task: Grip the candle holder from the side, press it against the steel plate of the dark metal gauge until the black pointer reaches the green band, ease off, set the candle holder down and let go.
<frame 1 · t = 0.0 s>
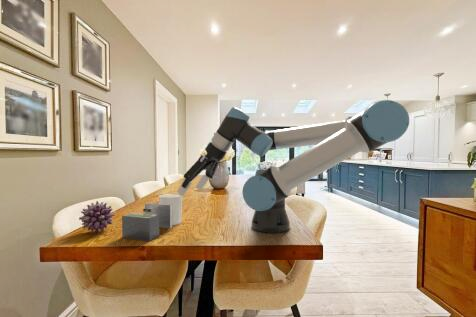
hand: (189, 191, 93), 15 cm above the table, tool tilted 35°, fingers open, 13 cm apart
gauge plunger: (153, 217, 93), point 5 cm above the table, slide at 0.0 cm
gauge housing: (151, 232, 92), on the table
candle holder: (171, 223, 104), on the table
flower: (97, 232, 93), on the table
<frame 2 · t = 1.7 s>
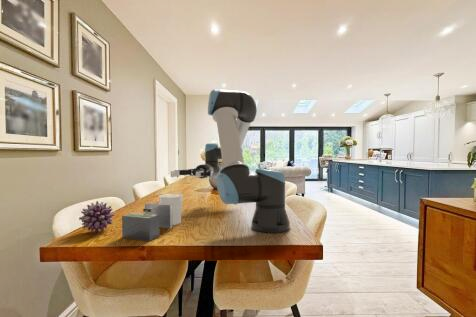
hand: (183, 174, 114), 20 cm above the table, tool horizontal, fingers open, 13 cm apart
nothing on the table moved.
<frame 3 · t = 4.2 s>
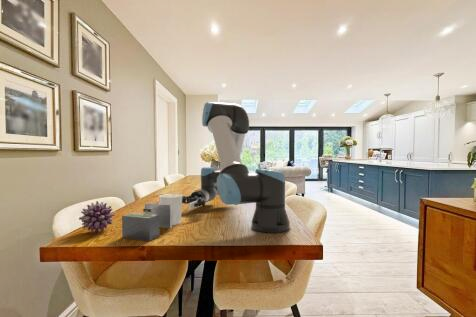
hand: (176, 205, 109), 6 cm above the table, tool horizontal, fingers open, 13 cm apart
nothing on the table moved.
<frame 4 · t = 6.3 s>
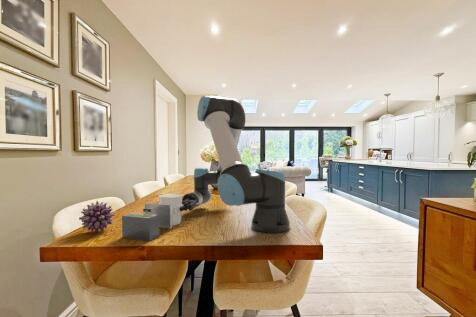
hand: (164, 210, 100), 7 cm above the table, tool horizontal, fingers closed on candle holder, 9 cm apart
candle holder: (171, 223, 104), on the table, touching gripper
everything else where it was.
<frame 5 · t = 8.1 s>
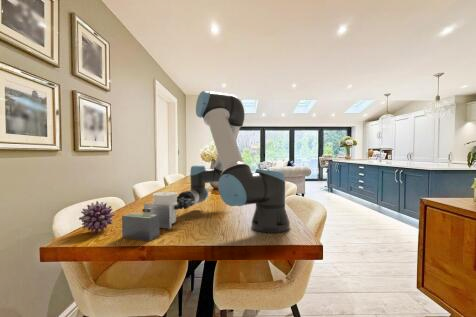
hand: (158, 208, 96), 8 cm above the table, tool horizontal, fingers closed on candle holder, 9 cm apart
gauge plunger: (152, 217, 93), point 5 cm above the table, slide at 0.4 cm, touching gripper
candle holder: (165, 222, 101), point 1 cm above the table, touching gripper
everything else where it was.
when the fingers open (8 cm above the table, at t = 11.2 s): candle holder moves 1 cm, on the table.
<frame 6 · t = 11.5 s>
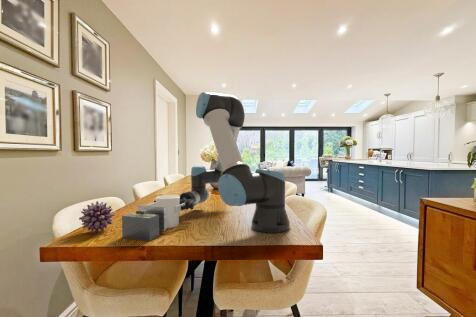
hand: (161, 208, 98), 8 cm above the table, tool horizontal, fingers open, 12 cm apart
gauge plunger: (146, 219, 89), point 6 cm above the table, slide at 3.8 cm
candle holder: (168, 225, 101), on the table
everything else where it was.
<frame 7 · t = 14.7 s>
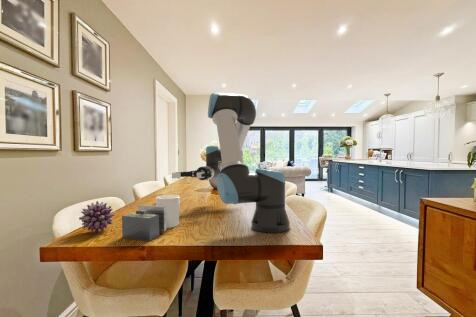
hand: (184, 175, 115), 19 cm above the table, tool horizontal, fingers open, 13 cm apart
nothing on the table moved.
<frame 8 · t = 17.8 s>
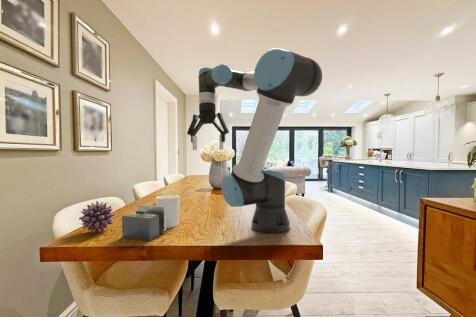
hand: (207, 149, 111), 32 cm above the table, tool pointing down, fingers open, 13 cm apart
nothing on the table moved.
at the end: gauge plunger slide at 3.8 cm; candle holder tilted 0°; the gripper is holding nothing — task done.
